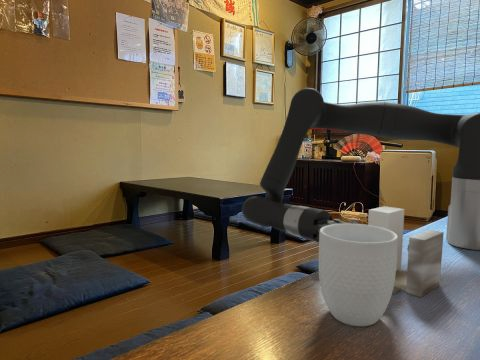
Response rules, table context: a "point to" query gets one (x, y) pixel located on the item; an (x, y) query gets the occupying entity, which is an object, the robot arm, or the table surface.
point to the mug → (357, 271)
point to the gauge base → (421, 264)
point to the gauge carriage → (389, 224)
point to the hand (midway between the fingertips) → (375, 239)
